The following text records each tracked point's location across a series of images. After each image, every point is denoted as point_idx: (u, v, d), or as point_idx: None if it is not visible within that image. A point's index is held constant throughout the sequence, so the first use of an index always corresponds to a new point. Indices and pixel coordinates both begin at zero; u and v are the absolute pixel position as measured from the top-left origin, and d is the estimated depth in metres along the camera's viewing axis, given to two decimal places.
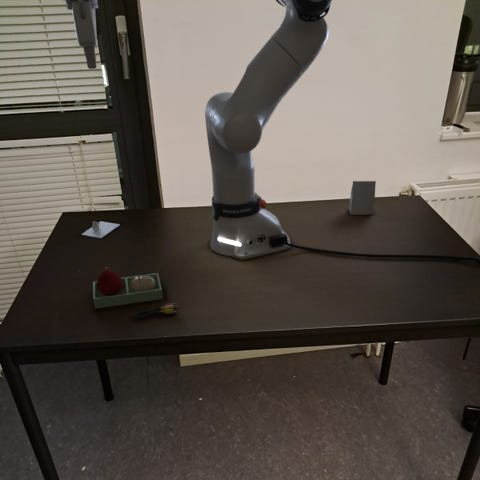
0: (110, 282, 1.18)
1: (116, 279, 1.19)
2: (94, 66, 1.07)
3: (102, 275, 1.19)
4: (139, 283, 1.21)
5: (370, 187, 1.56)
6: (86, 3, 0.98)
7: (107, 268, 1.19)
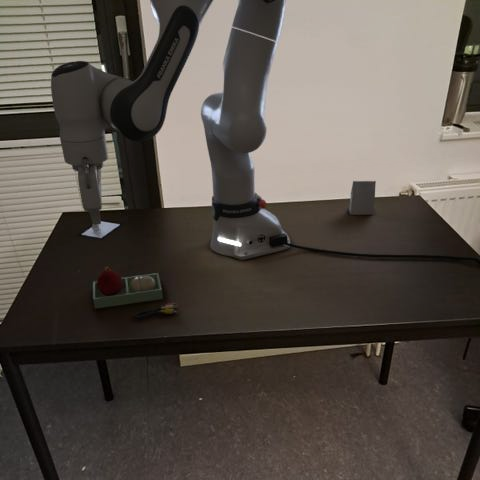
0: (110, 282, 1.18)
1: (116, 279, 1.19)
2: (98, 222, 1.08)
3: (102, 275, 1.19)
4: (139, 283, 1.21)
5: (370, 187, 1.56)
6: (92, 173, 0.99)
7: (107, 268, 1.19)
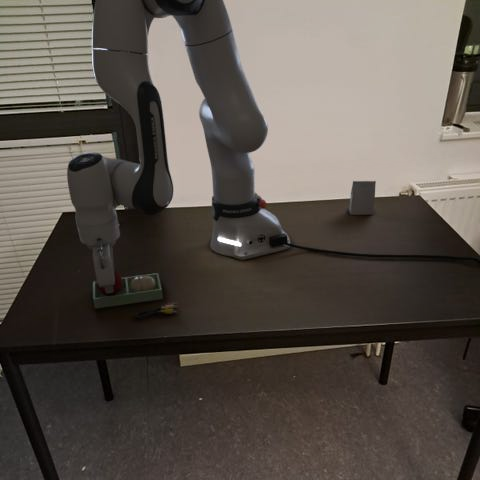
0: None
1: (116, 279, 1.19)
2: (111, 291, 1.18)
3: None
4: (139, 283, 1.21)
5: (370, 187, 1.56)
6: (106, 255, 1.08)
7: None
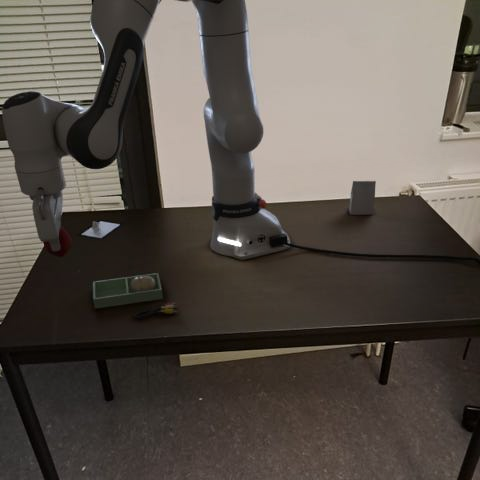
0: None
1: (63, 236, 1.09)
2: (58, 248, 1.08)
3: None
4: (139, 283, 1.21)
5: (370, 187, 1.56)
6: (46, 205, 0.98)
7: None
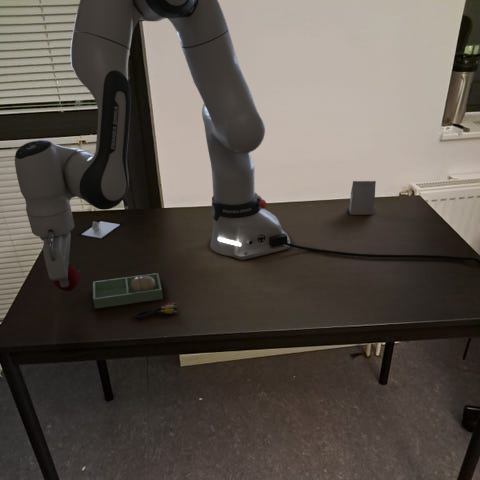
0: None
1: (72, 273, 1.15)
2: (66, 285, 1.13)
3: None
4: (139, 283, 1.21)
5: (370, 187, 1.56)
6: (56, 247, 1.03)
7: None
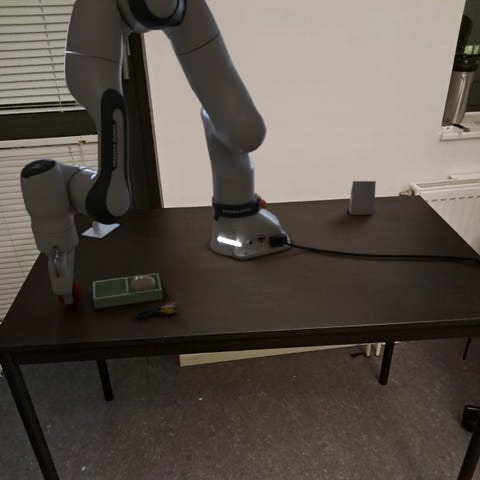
0: None
1: (75, 288, 1.17)
2: (71, 302, 1.14)
3: None
4: (139, 283, 1.21)
5: (370, 187, 1.56)
6: (61, 263, 1.05)
7: None
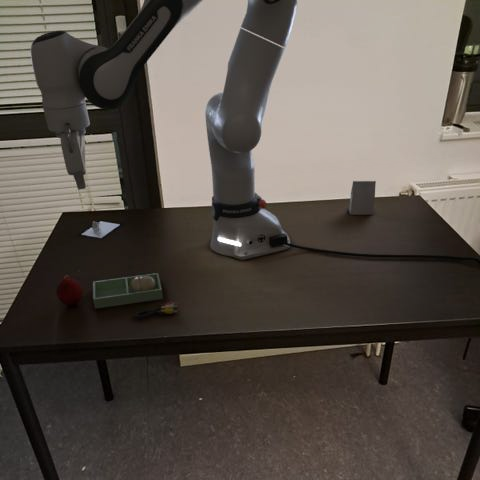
0: (69, 291, 1.16)
1: (75, 288, 1.17)
2: (83, 187, 1.13)
3: (61, 284, 1.16)
4: (139, 283, 1.21)
5: (370, 187, 1.56)
6: (74, 138, 1.04)
7: (66, 277, 1.17)
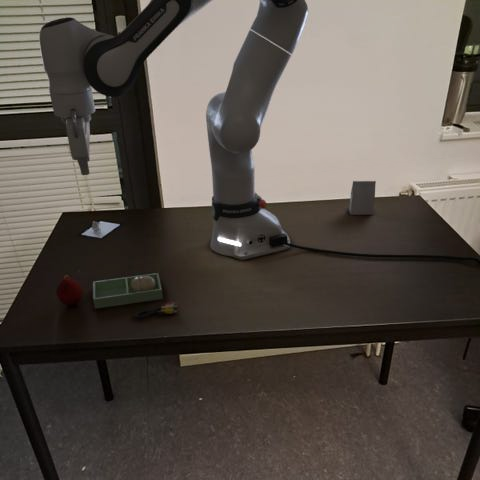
0: (69, 291, 1.16)
1: (75, 288, 1.17)
2: (87, 173, 1.15)
3: (61, 284, 1.16)
4: (139, 283, 1.21)
5: (370, 187, 1.56)
6: (79, 123, 1.06)
7: (66, 277, 1.17)
